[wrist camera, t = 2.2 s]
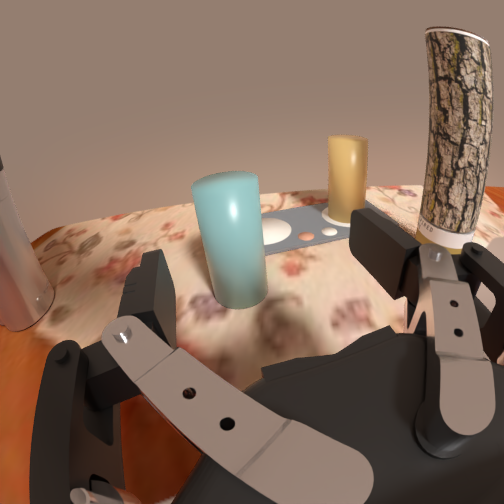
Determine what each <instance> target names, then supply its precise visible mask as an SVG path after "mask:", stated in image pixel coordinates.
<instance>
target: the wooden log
mask: <svg viewBox="0 0 504 504" xmlns="http://www.w3.org/2000/svg"><path fill="white" fill-rule="evenodd" d="M425 33H426V34H425V39H426V47H427V58H428V71H429V97H430V98H429V99H430V104H429V105H430V106H429V112H430V113H429V138H428V153H427V164H426V173H425V182H424V189H423V196H422V203H421V209H420V215H419V220H418V227H417V232H416V236H415V239H416V240H417V241H419V242H420V243H421V244H425V243H434V244H438V245H441V246H443V247H444V248H446V249H447V250H448V251H449V252H450V253H451V254H461V251H462V247H463V245H464V244H465V243H467V242H472V239H473V236H474V232H475V228H476V225H477V221H478V217H479V213H480V209H481V204H482V200H483V195H484V190H485V185H486V179H487V172H488V166H489V157H490V150H491V140H492V125H493V75H492V61H491V52H490V47H489V42H488V41H487V40H486V39H485V38H483V37H481V36H480V35H477V34H475V33H472V32H469V31H466V30H462V29H458V28H451V27H430V28H427V29H425Z"/></svg>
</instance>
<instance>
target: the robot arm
mask: <svg viewBox="0 0 504 504" xmlns="http://www.w3.org/2000/svg"><path fill="white" fill-rule="evenodd" d="M2 169H3V164H2V161H1V157H0V324H1V325H5V326H6V327H7V329H9V330H10V331H20V330H24V329H26V328H28V327H30V326H31V325H33V324H34V323H35V322H37V321H38V320H39V319H40V318H41V317H42V316H43V315H44V314H45V313H46V311H47V310H48V309H49V307H50V305H51V303H52V301H53V298H54V290H53V288H52V286H51V284H50V282H49V281H48V279H47V277H46V275H45V273H44V271H43V269H42V267H41V265H40V263H39V261H38V259H37V257H36V255H35V252H34V250H33V248H32V246H31V244H30V241H29V239H28V237H27V235H26V232H25V230H24V227H23V225H22V222H21V220H20V217H19V214H18V212H17V209H16V206H15V204H14V201H13V197H12V195H11V192H10V189H9V185H8V182H7V179H6V175H5V171H4V170H2ZM349 247H350V251H351V253H352V255H353V256H354V257H355V258H356V259H357V260H358V261H359V262H360V263H361V264H362V265H363V266H364V267H365V269H366V270H367V271H368V272H369V273H370V274H371V275H372V276H373V277H374V278H375V279H376V280H377V282H378V283H379V284H380V285H381V286H382V287H383V288H384V289H385V290H386V292H387V293H388V294H389V295H390V296H391V297H392V298H393V299H394V300H396V299H398V298H401V297H403V296H405V297H406V301H405V304H404V333H397V334H396V333H395V332H394V331H393V329H392V328H391V327H390V325H389V326H386V327H384V328H382V329H379V330H377V331H374V332H372V333H369V334H366V335H364V336H362V337H360V338H359V339H357V340H356V341H355V342H353V343H352V344H350V345H349V346H347V347H346V348H344V349H343V350H341V351H339V352H338V353H336V354H333V355H324V356H315V357H304V358H295V359H292V360H288V361H285V362H281V363H277V364H274V365H270V366H266V367H262V368H261V370H262V376H263V378H262V379H260V380H258V381H256V382H255V383H253V384H252V385H250V386H249V387H247V388H246V389H245V390H244V391H242V392H241V391H240V390H238V389H237V388H235V387H234V386H232V385H231V384H229V383H228V382H227V381H225V380H224V379H222V378H221V377H220V376H218V375H217V374H215V373H214V372H213V371H211V370H210V369H209V368H207V367H206V366H205V365H203V364H202V363H201V362H199V361H198V360H197V359H195V358H194V357H193V356H191V355H190V354H189V353H188V352H186V351H185V350H184V349H182V348H180V347H177V345H176V296H175V288H174V284H173V281H172V278H171V275H170V272H169V269H168V266H167V263H166V260H165V257H164V254H163V251H162V250H161V249H159V250H154V251H150V252H146V253H143V255H142V259H141V264H140V267H135V268H133V269H132V270H131V272H130V273H129V274H128V275H127V277H126V281H125V285H124V286H125V287H124V289H123V295H122V297H121V302H120V306H119V311H118V315H117V319H115V320H113V321H112V322H110V323H109V324H108V325H107V326H106V327H105V329H104V331H103V333H102V340H101V341H99V342H96V343H94V344H92V345H90V346H87V347H85V348H83V349H81V347H80V346H79V345H78V343H77V342H75V341H73V340H65V341H62V342H60V343H58V344H57V345H56V346H54V347H53V348H52V350H51V351H50V352H49V354H48V356H47V359H46V363H45V367H44V371H43V376H42V380H41V384H40V389H39V394H38V400H37V405H36V411H35V418H34V425H33V433H32V442H31V454H30V477H29V490H30V504H141V502H140V501H139V499H138V498H137V497H136V496H135V495H133V494H132V493H130V492H128V491H126V488H125V480H124V471H123V460H122V447H121V426H120V402H123V401H125V400H127V399H130V398H132V397H135V396H137V395H139V394H141V395H142V396H143V397H144V398H145V399H146V400H147V401H148V402H149V404H150V405H151V406H152V407H153V408H154V409H155V410H156V411H157V412H158V413H159V414H160V415H161V416H162V417H163V418H164V419H165V420H166V421H167V422H168V423H169V424H170V425H171V426H172V427H173V428H174V429H175V430H176V431H177V432H178V433H179V434H180V435H181V436H182V437H183V438H184V439H185V440H186V441H187V442H188V443H189V444H190V445H192V446H193V447H194V448H195V449H196V450H197V451H198V452H200V453H201V454H202V455H201V457H200V459H199V460H198V462H197V464H196V465H195V467H194V468H193V470H192V472H191V473H190V475H189V477H188V478H187V480H186V481H185V483H184V484H183V486H182V488H181V489H180V491H179V492H178V494H177V495H176V497H175V498H174V500H173V501H172V503H171V504H504V263H502V262H501V261H500V260H499V259H498V258H497V257H495V256H494V255H493V254H492V253H491V252H489V251H488V250H487V249H486V248H484V247H483V246H481V245H479V244H477V243H473V242H467V243H465V244H464V245H463V247H462V251H461V254H451V253H450V252H449V251H448V250H447V249H446V248H444V247H443V246H441V245H438V244H434V243H425V244H421V243H420V242H419V241H417V240H416V239H415V238H413V237H412V236H411V235H409V234H408V233H407V232H404V230H403V229H401V228H400V227H398V226H397V225H396V224H395V223H393V222H392V221H391V220H388V219H386V218H383V217H382V216H380V215H379V214H378V213H376V212H375V211H373V210H372V209H370V208H362V209H357V210H353V211H352V213H351V218H350V235H349ZM481 282H483V284H484V285H485V286H486V287H488V289H489V290H490V291H491V292H492V293H493V294H494V296H495V298H496V304H495V307H494V309H493V311H492V313H491V312H490V311H489V310H488V309H487V308H486V306H484V305H483V303H482V302H481V301H480V300H479V299H478V298H477V297H476V293H477V291H478V289H479V286H480V284H481ZM483 351H484V352H485V353H486V355H487V356H488V357H489V359H490V360H491V361H489V360H488V359H486V358H485V357H484V353H483Z"/></svg>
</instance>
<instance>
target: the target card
mask: <svg viewBox="0 0 504 504" xmlns="http://www.w3.org/2000/svg"><path fill="white" fill-rule="evenodd" d="M365 208H370V209H372V210H373V211H375V212H376V213H378V214H379V215H380V216H382V217H383V218H386V219H388V220H391V221H392V222H393V223H395V224H396V225H397V226H398V227H399V223H397V222H396V221H395V220H393V219H392V218H390V217H389V216H388V215H386V214H385V213H384V212H382V211H381V210H379V209H378V208H377V207H375V206H374V205H372V204H371V203H369V202H368V201H367V200H365ZM261 217H262V228H263V239H264V250H265V255H270V254H274V253H279V252H284V251H289V250H293V249H298V248H303V247H307V246H312V245H317V244H321V243H326V242H331V241H335V240H340V239H344V238H349V235H350V223H341V222H337V221H334V220H332V219H331V218H330V217H329V216H328V203H321V204H315V205H309V206H303V207H297V208H291V209H286V210H280V211H274V212H269V213H263V214H261Z"/></svg>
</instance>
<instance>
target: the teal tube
mask: <svg viewBox="0 0 504 504" xmlns="http://www.w3.org/2000/svg"><path fill="white" fill-rule="evenodd" d="M191 189H192V194H193V200H194V205H195V210H196V214H197V219H198V224H199V229H200V233H201V238H202V243H203V247H204V252H205V256H206V261H207V265H208V269H209V274H210V278H211V282H212V286H213V290H214V295H215V298H216V300H217V301H218V303H220V304H221V305H222V306H224V307H227V308H231V309H245V308H249V307H252V306H254V305H256V304H258V303H260V302H261V301H262V300H263V299H264V298H265V296H266V295H267V292H268V285H267V273H266V262H265V250H264V239H263V228H262V217H261V207H260V196H259V186H258V177H257V175H255V174H253V173H250V172H245V171H229V172H222V173H216V174H212V175H209V176H206V177H203V178H201V179H199V180H197V181H196V182H194V183H193V184H192V186H191Z"/></svg>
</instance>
